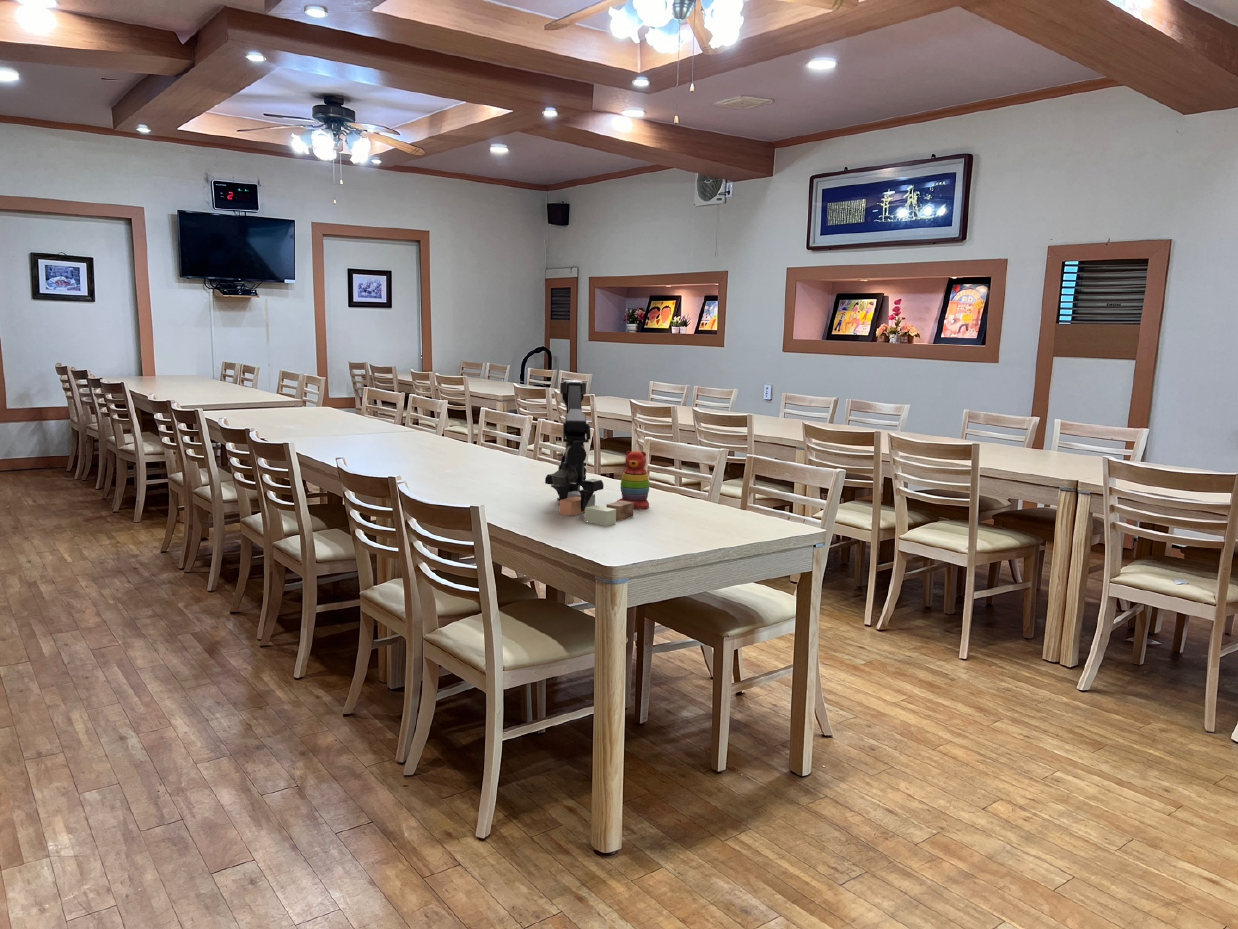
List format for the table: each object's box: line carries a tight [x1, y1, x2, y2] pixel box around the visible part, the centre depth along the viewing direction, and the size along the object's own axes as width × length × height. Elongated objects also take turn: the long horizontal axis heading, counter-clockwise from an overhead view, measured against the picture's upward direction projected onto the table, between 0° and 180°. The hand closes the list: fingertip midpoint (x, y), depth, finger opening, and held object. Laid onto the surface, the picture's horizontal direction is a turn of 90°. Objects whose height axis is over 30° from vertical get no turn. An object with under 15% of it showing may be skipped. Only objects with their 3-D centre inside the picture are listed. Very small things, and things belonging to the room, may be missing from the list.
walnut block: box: [605, 500, 635, 522], centre depth 265 cm, size 8×4×4 cm, turn 145°
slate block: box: [567, 491, 596, 507], centre depth 278 cm, size 8×4×4 cm, turn 55°
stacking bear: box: [615, 450, 650, 510], centre depth 283 cm, size 11×10×18 cm
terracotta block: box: [558, 496, 587, 516], centre depth 269 cm, size 8×4×4 cm, turn 145°
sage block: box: [584, 504, 617, 527], centre depth 257 cm, size 8×4×4 cm, turn 55°
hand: (573, 509), depth 269 cm, fingers open, 7 cm apart
